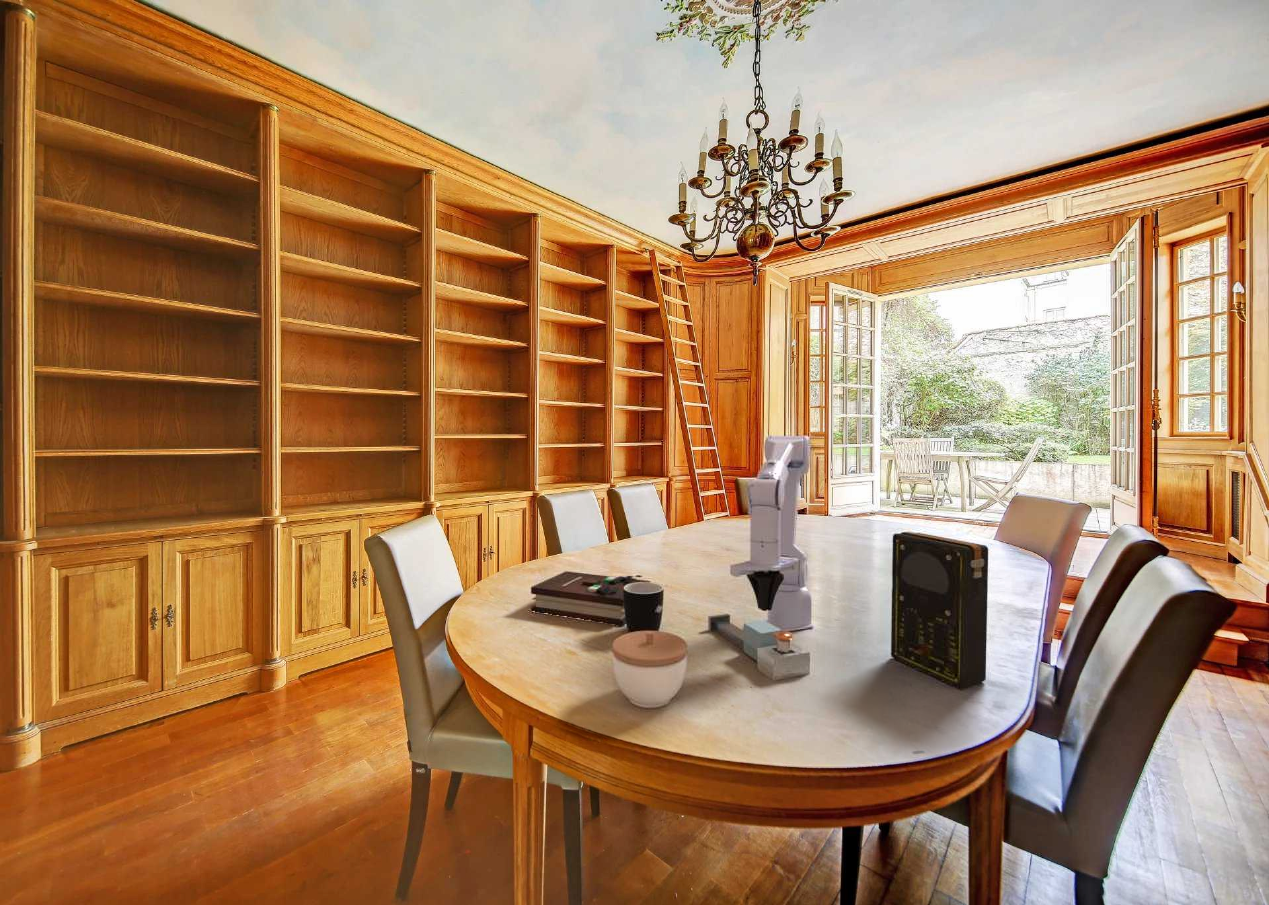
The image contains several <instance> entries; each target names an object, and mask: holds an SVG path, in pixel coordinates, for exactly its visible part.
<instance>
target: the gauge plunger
mask: <svg viewBox="0 0 1269 905" xmlns="http://www.w3.org/2000/svg"><path fill="white" fill-rule="evenodd" d="M793 637H794V636H793V633H792V632H791V631H776V632H775V638H777V652H778V653H779V654H781V655H783V654H789V653H790V643H791V641H792V640H793Z"/></svg>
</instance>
